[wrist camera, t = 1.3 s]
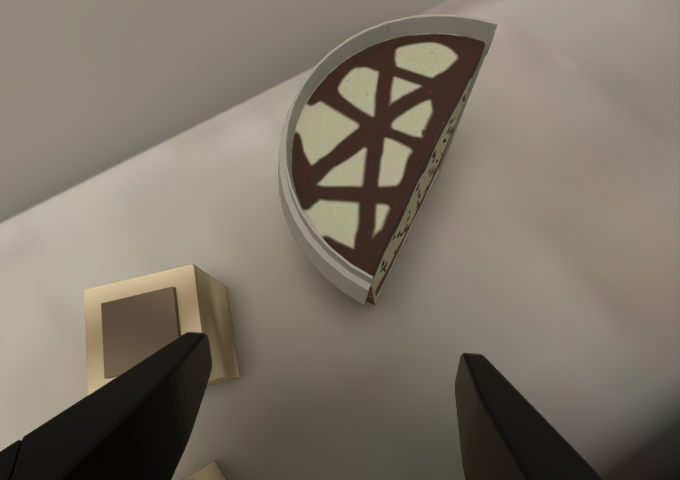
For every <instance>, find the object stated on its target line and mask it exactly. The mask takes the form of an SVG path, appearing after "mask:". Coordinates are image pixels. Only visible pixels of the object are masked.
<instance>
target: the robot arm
mask: <svg viewBox="0 0 680 480" xmlns="http://www.w3.org/2000/svg"><path fill="white" fill-rule="evenodd" d="M211 370H212V358H211V351H210V345H209V339H208V336H207V334H205V333H201V332H187V333H185V334H183V335H181V336H180V337H178V338H177V339H175V340H174V341H172V342H171V343H169V344H167V345H166V346H164V347H163V348H161V349H160V350H158V351H157V352H155V353H153V354H152V355H150V356H149V357H147V358H146V359H144V360H143V361H141V362H139V363H138V364H136V365H135V366H133V367H132V368H130V369H129V370H127V371H125V372H124V373H122V374H121V375H119V376H118V377H116V378H114V379H113V380H111V381H110V382H108V383H107V384H105V385H104V386H102V387H100V388H99V389H97V390H96V391H94V392H93V393H91V394H90V395H88V396H86V397H85V398H83V399H82V400H80V401H79V402H77V403H76V404H74V405H72V406H71V407H69V408H68V409H66V410H65V411H63V412H61V413H60V414H58V415H57V416H55V417H54V418H52V419H51V420H49V421H47V422H46V423H44V424H43V425H41V426H40V427H38V428H37V429H35V430H33V431H32V432H30V433H29V434H27V435H26V436H24V437H23V439H22V441H21V440H18V441H16V442H15V443H13V444H11V445H10V446H8V447H7V448H5V449H4V450H2V451H0V480H171V479H172V477H173V474H174V472H175V470H176V468H177V466H178V463H179V461H180V459H181V457H182V454H183V452H184V450H185V447H186V445H187V443H188V440H189V438H190V435H191V432H192V429H193V426H194V423H195V420H196V417H197V414H198V411H199V408H200V405H201V402H202V399H203V396H204V393H205V389H206V386H207V383H208V380H209V377H210V374H211ZM455 397H456V407H457V417H458V426H459V436H460V445H461V455H462V463H463V469H464V474H465V479H466V480H604V479H603V478H602V477H601V476H600V475H599V474H598V473H597V472H596V471H595V470H594V469H593V468H592V467H591V466H590V465H589V464H588V463H587V462H586V461H585V460H584V459H583V457H582V456H581V455H580V454H579V453H578V452H577V451H576V450H575V449H574V448H573V447H572V446H571V445H570V444H569V443H568V442H567V441H566V440H565V439H564V438H563V437H562V436H561V435H560V434H559V433H558V432H557V431H556V430H555V429H554V428H553V427H552V426H551V425H550V423H549V422H548V421H547V420H546V419H545V418H544V417H543V416H542V415H541V414H540V413H539V412H538V411H537V410H536V409H535V408H534V407H533V406H532V405H531V404H530V403H529V402H528V401H527V400H526V399H525V398H524V397H523V396H522V395H521V394H520V393H519V392H518V391H517V389H516V388H515V387H514V386H513V385H512V384H511V383H510V382H509V381H508V380H507V379H506V378H505V377H504V376H503V375H502V374H501V373H500V372H499V371H498V370H497V369H496V368H495V367H494V366H493V365H492V364H491V363H490V362H489V361H488V360H487V359H486V358H485V357H484V356H483V355H481V354H472V353H464V354H462V355H461V357H460V361H459V366H458V371H457V376H456V382H455Z"/></svg>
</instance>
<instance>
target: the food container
mask: <svg viewBox="0 0 680 480" xmlns="http://www.w3.org/2000/svg"><path fill="white" fill-rule="evenodd" d="M497 24H498V23H495V22H491V21H487V20H484V19H480V18H475V17H468V16H461V15H451V14H428V15H418V16H409V17H404V18H400V19H396V20H392V21H387V22H384V23H382V24H379V25H376V26H374V27H371V28H368V29H366V30H364V31H362V32H360V33H358V34H357V35H354V36H353V37H351V38H349V39H347V40H346V41H344V42H343V43H341V44H340V45H339V46H337V47H336V48H335V49H333V50H332V51H330V52H329V54H327V55H326V56H325V57H324V58H323V59H322V60H321V61H320V62H319V63H318V64H317V65H316V66H315V67H314V69H313V70H312V71H311V73H310V74H309V75H308V77H307V78H306V79H305V81H304V82H303V83H302V85H301V87H300V89H299V91H298V93H297V95H296V97H295V99H294V100H293V103H292V105H291V107H290V109H289V111H288V114H287V117H286V120H285V123H284V126H283V129H282V134H281V141H280V148H279V165H278V175H279V194H280V198H281V203H282V207H283V212H284V215H285V218H286V220H287V223H288V225H289V228H290V230H291V232H292V235H293V237H294V238H295V240H296V242H297V243H298V245H299V246H300V248H301V250H302V251H303V253H304V254H305V256H306V257H307V258H308V260H309V261H310V262H311V263H312V264H313V265H314V266H315V268H316V269H317V270H318V271H319V272H320V273H321V274H322V276H324V277H325V278H326V279H327V280H329V281H330V282H331V283H332V284H333V285H335V286H336V287H337V288H338V289H339V290H341V291H342V292H343V293H345V294H346V295H348V296H350V297H352V298H353V299H355V300H357V301H358V302H360V303H362V304H363V305H364V304H365V302H366V300H367V301H368V302H370V303H372V304H374V305H375V304H376V302H377V300H378V298H379V295H380V293H381V291H382V289H383V287H384V285H385V283H386V281H387V279H388V277H389V275H390V273H391V271H392V268H393V266H394V264H395V262H396V260H397V258H398V256H399V254H400V252H401V250H402V248H403V246H404V244H405V242H406V239H407V237H408V235H409V233H410V231H411V229H412V227H413V225H414V223H415V221H416V219H417V217H418V215H419V212H420V210H421V208H422V206H423V204H424V202H425V200H426V198H427V196H428V194H429V192H430V190H431V188H432V185H433V183H434V181H435V179H436V177H437V175H438V173H439V171H440V169H441V166H442V164H443V161H444V159H445V156H446V154H447V151H448V149H449V146H450V144H451V141H452V139H453V136H454V134H455V131H456V129H457V126H458V123H459V121H460V118H461V116H462V113H463V111H464V108H465V106H466V103H467V101H468V98H469V96H470V93H471V91H472V88H473V86H474V83H475V80H476V78H477V75H478V73H479V70H480V68H481V65H482V63H483V60H484V58H485V56H486V55H487V53H488V50H489V47H490V45H491V42H492V39H493V36H494V34H495V30H496V27H497Z"/></svg>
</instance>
